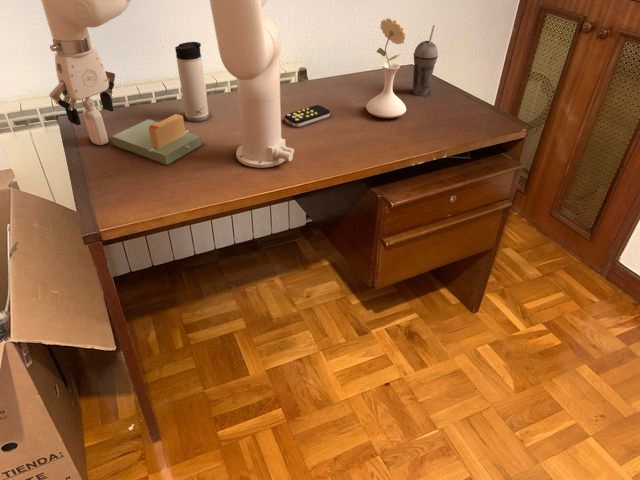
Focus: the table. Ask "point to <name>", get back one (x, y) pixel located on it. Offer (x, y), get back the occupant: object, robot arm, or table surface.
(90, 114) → the eye dropper bottle
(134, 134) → the green flat block
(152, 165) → the table surface
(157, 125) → the orange block
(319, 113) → the remote control
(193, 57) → the travel mug
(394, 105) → the flower in vase
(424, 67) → the beverage cup
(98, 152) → the table surface
